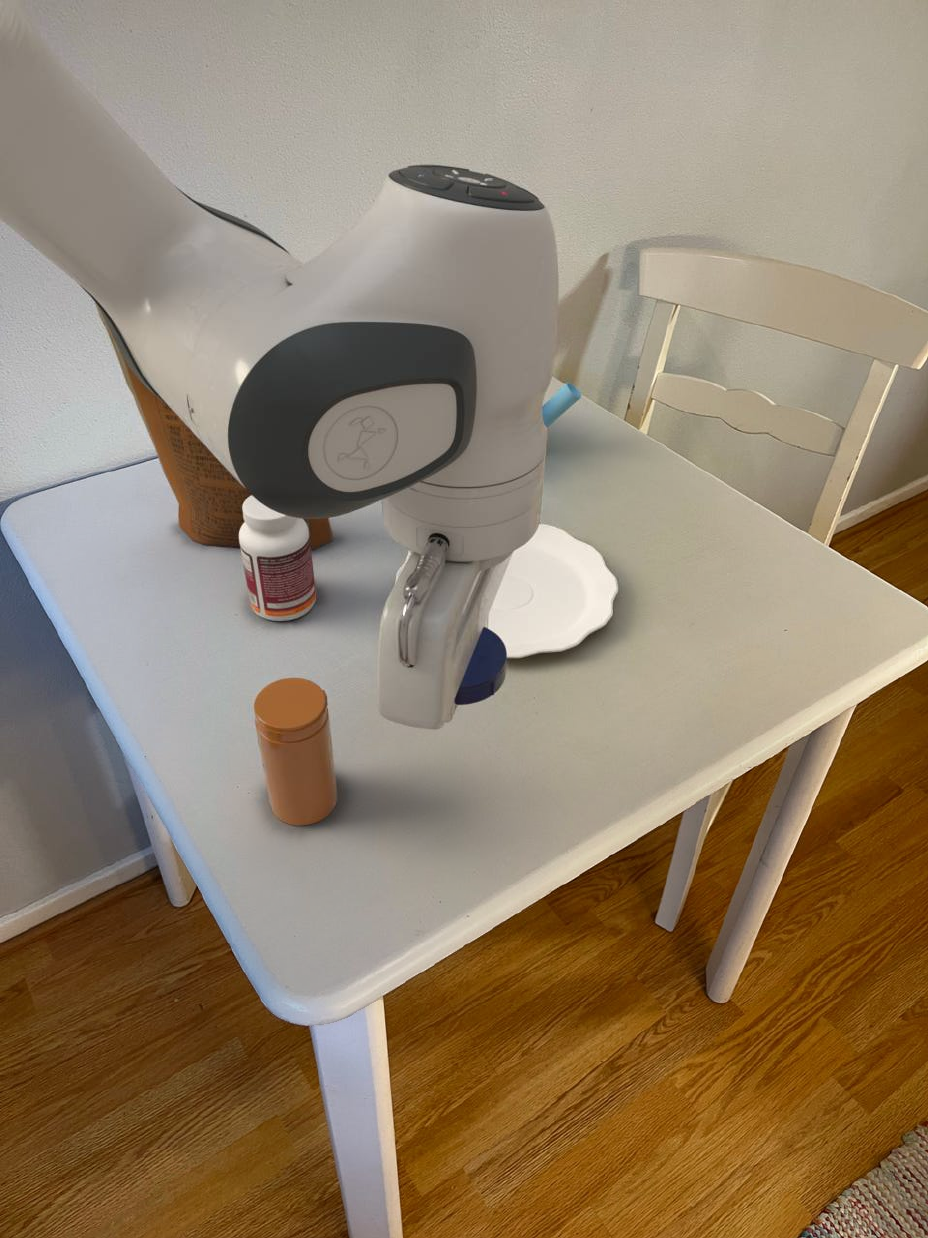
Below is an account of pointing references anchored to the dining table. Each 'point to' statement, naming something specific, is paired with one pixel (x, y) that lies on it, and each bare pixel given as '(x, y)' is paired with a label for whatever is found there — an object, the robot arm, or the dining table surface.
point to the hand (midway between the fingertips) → (457, 672)
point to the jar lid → (484, 669)
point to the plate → (550, 594)
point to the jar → (296, 750)
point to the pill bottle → (276, 562)
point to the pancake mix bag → (198, 473)
